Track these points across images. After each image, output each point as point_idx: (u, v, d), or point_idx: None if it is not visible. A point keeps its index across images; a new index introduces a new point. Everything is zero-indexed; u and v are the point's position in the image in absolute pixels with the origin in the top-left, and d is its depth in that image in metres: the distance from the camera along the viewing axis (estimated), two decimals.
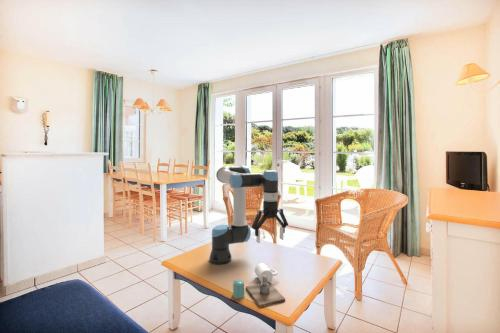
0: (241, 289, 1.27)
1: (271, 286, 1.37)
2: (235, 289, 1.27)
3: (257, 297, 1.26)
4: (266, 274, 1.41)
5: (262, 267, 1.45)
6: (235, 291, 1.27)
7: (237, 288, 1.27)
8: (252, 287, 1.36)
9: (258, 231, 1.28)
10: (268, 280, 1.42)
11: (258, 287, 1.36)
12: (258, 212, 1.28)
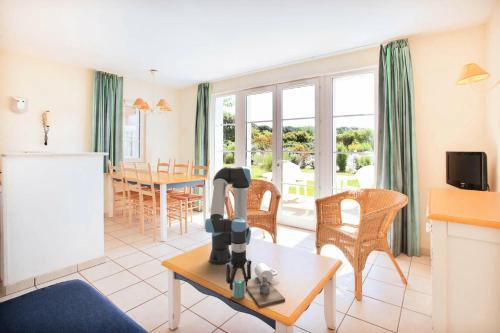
0: (241, 289, 1.27)
1: (271, 286, 1.37)
2: (235, 289, 1.27)
3: (257, 297, 1.26)
4: (266, 274, 1.41)
5: (262, 267, 1.45)
6: (235, 291, 1.27)
7: (237, 288, 1.27)
8: (252, 287, 1.36)
9: (232, 285, 1.27)
10: (268, 280, 1.42)
11: (258, 287, 1.36)
12: (226, 265, 1.27)
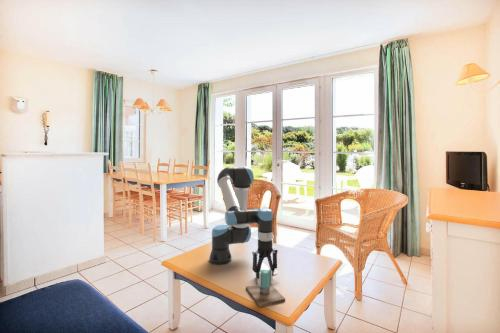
0: None
1: (271, 286, 1.37)
2: (267, 279, 1.28)
3: (257, 297, 1.26)
4: None
5: (262, 267, 1.45)
6: (267, 281, 1.28)
7: (269, 277, 1.29)
8: (252, 287, 1.36)
9: (259, 274, 1.28)
10: None
11: (258, 287, 1.36)
12: (253, 254, 1.28)
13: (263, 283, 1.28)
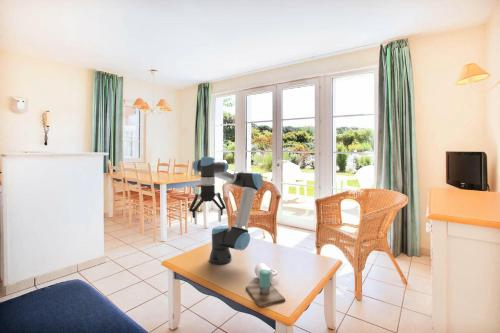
0: None
1: (271, 286, 1.37)
2: None
3: (257, 297, 1.26)
4: None
5: (262, 267, 1.45)
6: None
7: None
8: (252, 287, 1.36)
9: (195, 213, 1.36)
10: None
11: (258, 287, 1.36)
12: (195, 195, 1.37)
13: None
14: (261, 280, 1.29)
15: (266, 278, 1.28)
